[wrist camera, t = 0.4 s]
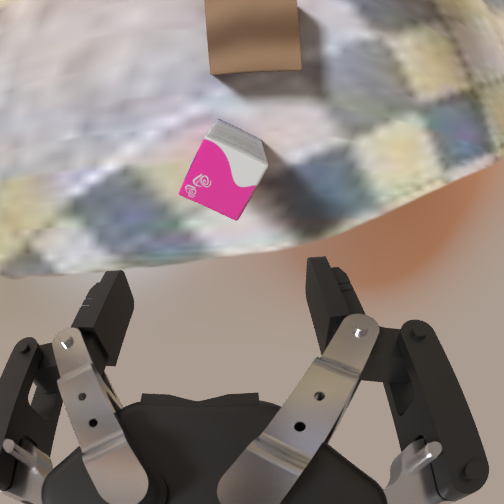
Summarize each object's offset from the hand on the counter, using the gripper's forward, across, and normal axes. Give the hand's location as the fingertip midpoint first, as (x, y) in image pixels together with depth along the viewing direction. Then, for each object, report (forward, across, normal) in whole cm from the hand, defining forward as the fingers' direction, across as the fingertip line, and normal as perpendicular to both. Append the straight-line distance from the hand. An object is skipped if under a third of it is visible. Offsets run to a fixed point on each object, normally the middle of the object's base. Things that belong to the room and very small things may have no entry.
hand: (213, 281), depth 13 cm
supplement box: (+25, 0, 0) cm, 25 cm away
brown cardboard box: (+25, -4, -13) cm, 28 cm away
